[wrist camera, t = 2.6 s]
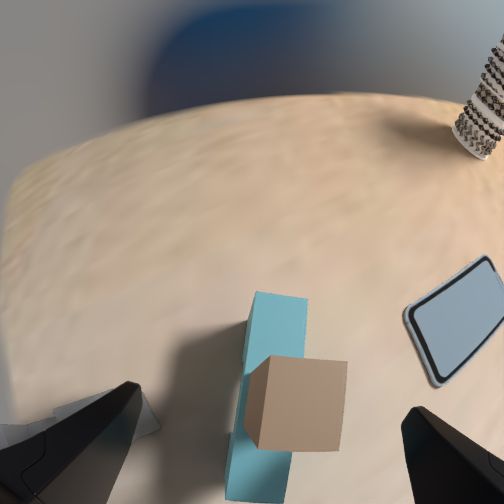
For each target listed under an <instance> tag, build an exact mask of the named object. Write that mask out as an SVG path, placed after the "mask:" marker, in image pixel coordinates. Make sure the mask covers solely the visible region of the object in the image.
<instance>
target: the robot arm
mask: <svg viewBox="0 0 504 504" xmlns="http://www.w3.org/2000/svg"><path fill="white" fill-rule="evenodd" d="M142 405H143V400H142V392H141V386H140V384H138V383H134V382H131V381H126V382H125V383H123V384H121V385H120V386H118V387H117V388H115V389H113V390H112V391H110V392H108V393H107V394H105V395H103V396H102V397H100V398H99V399H97V400H95V401H94V402H92V403H90V404H89V405H87V406H85V407H83V408H82V409H80V410H78V411H77V412H75V413H73V414H72V415H70V416H68V417H66V418H65V419H63V420H61V421H59V422H58V423H56V424H54V425H52V426H51V427H49V428H47V429H45V431H44V430H43V431H41V432H40V433H38V434H36V435H34V436H32V437H30V438H28V439H26V440H24V441H22V442H19V443H17V444H14V445H12V446H9V447H7V448H4V449H1V450H0V504H106V503H107V500H108V498H109V496H110V493H111V491H112V488H113V486H114V484H115V481H116V479H117V477H118V474H119V472H120V470H121V467H122V465H123V463H124V460H125V458H126V456H127V454H128V451H129V449H130V446H131V443H132V440H133V436H134V433H135V429H136V426H137V423H138V419H139V416H140V413H141V409H142ZM401 431H402V437H403V444H404V452H405V459H406V464H407V469H408V473H409V477H410V482H411V487H412V491H413V496H414V502H415V504H504V461H503V460H501V459H500V458H498V457H496V456H495V455H493V454H492V453H490V452H489V451H487V450H486V449H484V448H483V447H481V446H480V445H478V444H477V443H475V442H474V441H472V440H471V439H469V438H468V437H466V436H465V435H463V434H462V433H460V432H459V431H458V430H456V429H455V428H453V427H452V426H450V425H449V424H447V423H446V422H445V421H443V420H442V419H440V418H439V417H437V416H436V415H435V414H433V413H432V412H430V411H429V410H427V409H426V408H425V407H423V406H418V407H413V408H412V409H411V410H410V411H409V413H408V414H407V416H406V417H405V419H404V420H403V422H402V424H401Z"/></svg>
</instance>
